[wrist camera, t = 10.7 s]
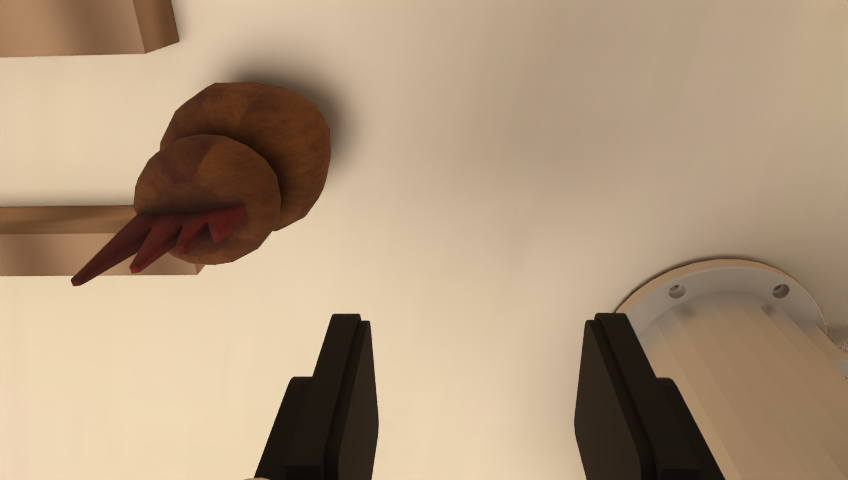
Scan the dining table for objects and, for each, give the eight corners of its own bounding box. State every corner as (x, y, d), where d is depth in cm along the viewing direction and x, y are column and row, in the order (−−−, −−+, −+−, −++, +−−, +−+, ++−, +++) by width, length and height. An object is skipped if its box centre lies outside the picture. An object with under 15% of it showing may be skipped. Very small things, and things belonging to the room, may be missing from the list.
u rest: (167, -13, 27) (130, -8, 24) (221, 243, 33) (197, 274, 30) (-205, -1, 28) (-288, 5, 25) (-87, 246, 34) (-142, 277, 31)
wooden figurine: (206, 164, 31) (19, 331, 17) (217, 55, 28) (7, 153, 15) (332, 196, 31) (244, 382, 18) (353, 92, 29) (269, 218, 15)
